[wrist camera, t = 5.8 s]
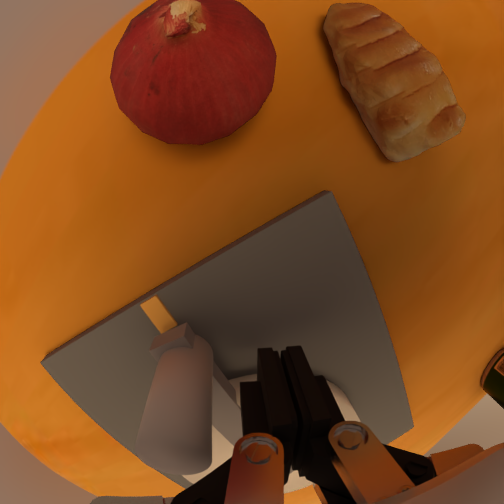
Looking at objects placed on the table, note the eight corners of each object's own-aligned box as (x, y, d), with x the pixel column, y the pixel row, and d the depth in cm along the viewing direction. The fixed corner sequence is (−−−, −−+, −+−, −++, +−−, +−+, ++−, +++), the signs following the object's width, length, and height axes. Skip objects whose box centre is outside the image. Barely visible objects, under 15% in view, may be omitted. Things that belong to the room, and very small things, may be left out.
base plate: (324, 190, 13) (333, 191, 12) (409, 420, 19) (414, 428, 18) (46, 354, 14) (39, 364, 13) (222, 500, 20) (222, 509, 19)
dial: (365, 439, 17) (399, 503, 10) (230, 489, 17) (236, 554, 10) (287, 263, 13) (351, 346, 6) (89, 358, 13) (37, 446, 6)
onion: (120, 98, 11) (32, 31, 4) (210, 29, 11) (205, -80, 3) (192, 178, 13) (147, 173, 5) (285, 104, 12) (355, 25, 5)
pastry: (286, 32, 11) (305, -5, 8) (367, 5, 11) (395, -23, 7) (384, 172, 14) (427, 172, 10) (447, 124, 13) (488, 118, 10)
